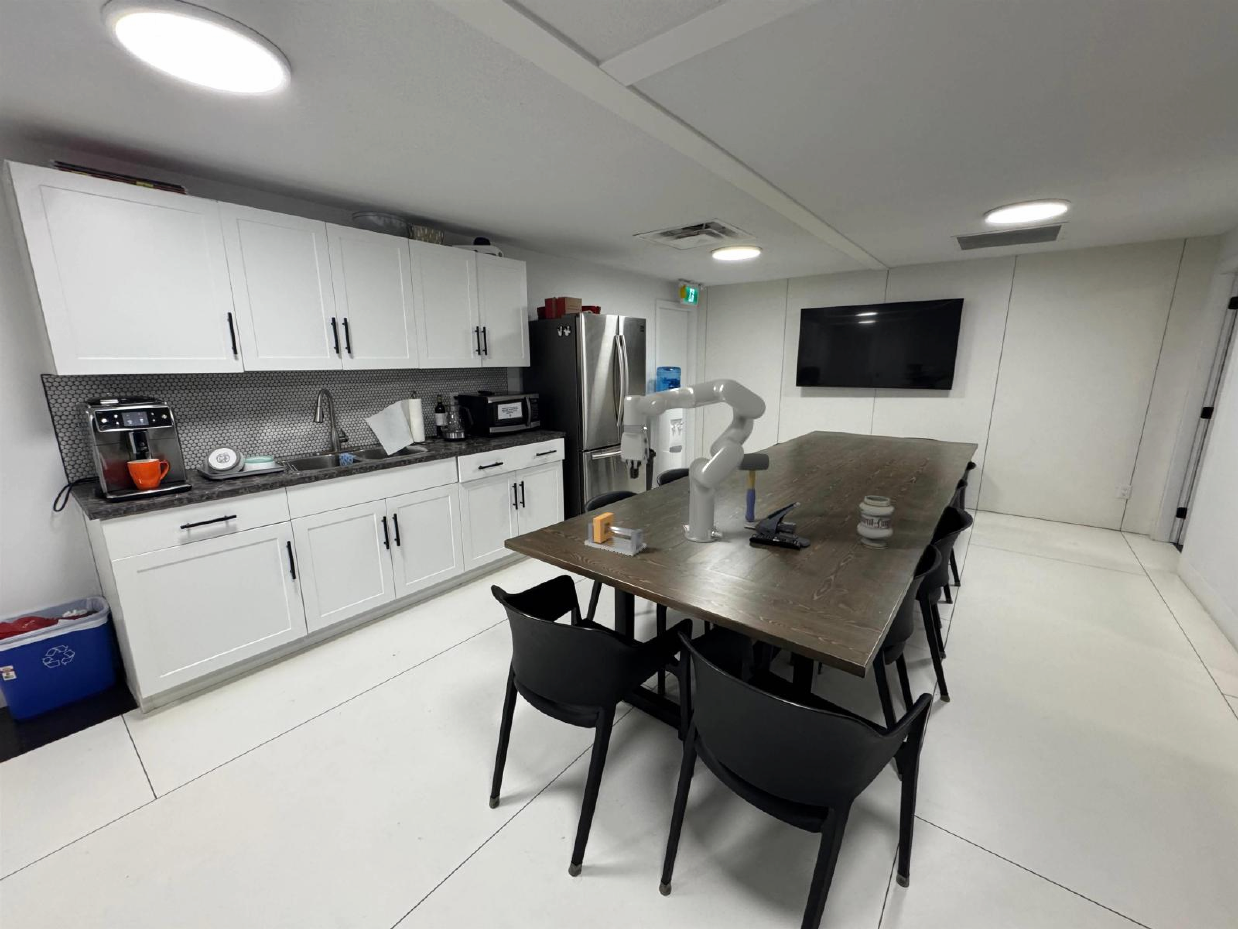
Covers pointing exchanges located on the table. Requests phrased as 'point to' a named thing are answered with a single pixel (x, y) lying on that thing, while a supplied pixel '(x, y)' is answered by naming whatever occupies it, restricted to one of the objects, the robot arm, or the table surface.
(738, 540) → the table surface
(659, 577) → the table surface
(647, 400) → the robot arm
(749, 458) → the rubber mallet
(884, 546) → the apothecary jar
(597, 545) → the pipe stand
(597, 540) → the collar
